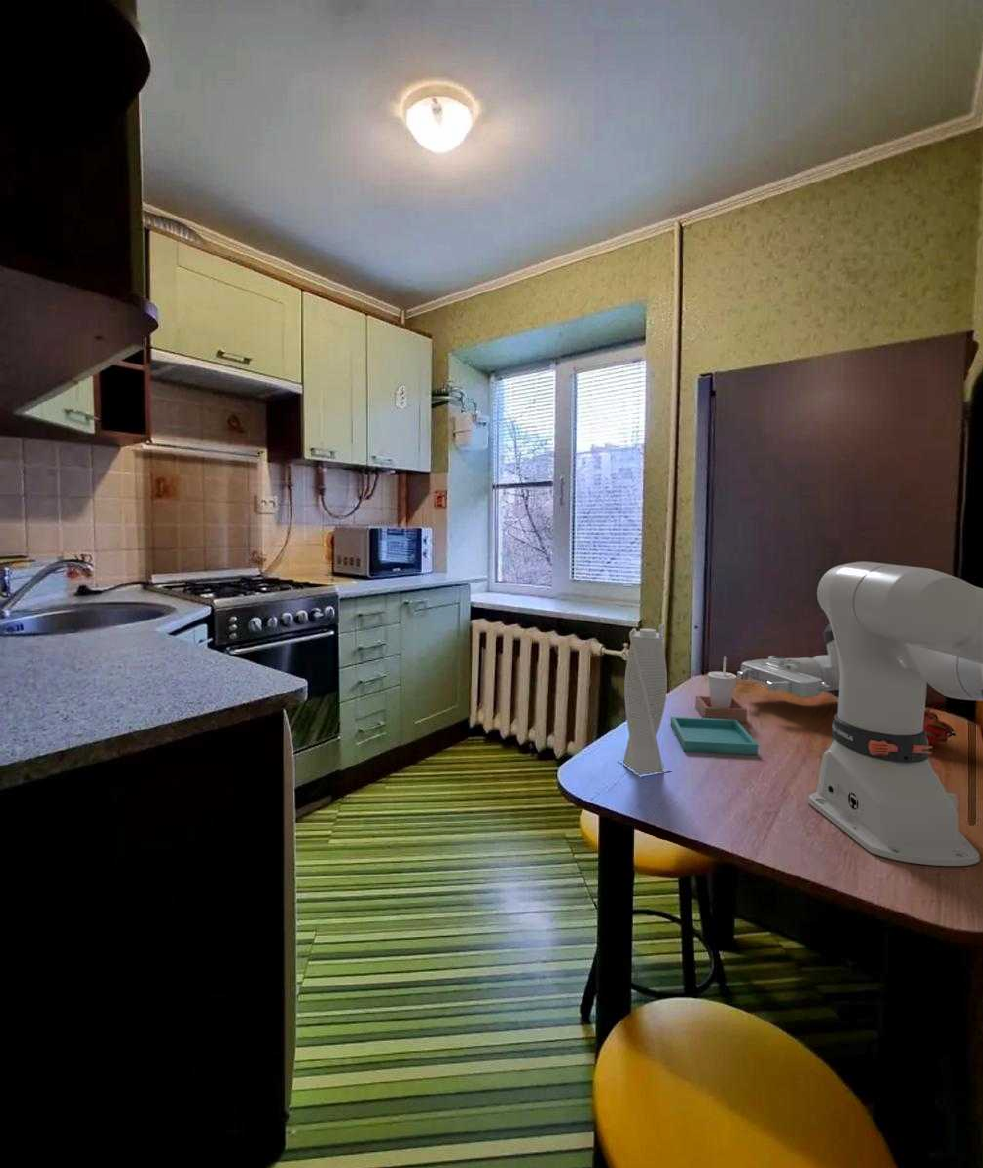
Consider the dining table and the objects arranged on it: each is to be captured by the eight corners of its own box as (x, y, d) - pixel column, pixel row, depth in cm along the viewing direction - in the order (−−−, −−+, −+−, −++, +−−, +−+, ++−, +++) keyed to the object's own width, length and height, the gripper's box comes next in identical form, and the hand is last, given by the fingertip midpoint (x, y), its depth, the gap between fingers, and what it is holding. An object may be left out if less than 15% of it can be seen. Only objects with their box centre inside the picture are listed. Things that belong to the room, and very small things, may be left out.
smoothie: (739, 719, 129) (742, 660, 127) (711, 719, 129) (714, 660, 128) (728, 710, 135) (731, 653, 134) (701, 710, 135) (704, 653, 134)
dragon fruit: (877, 739, 122) (946, 764, 113) (875, 726, 116) (947, 751, 107) (891, 705, 123) (960, 727, 115) (889, 690, 118) (962, 712, 109)
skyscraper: (676, 776, 101) (683, 623, 98) (639, 783, 98) (645, 626, 95) (647, 757, 109) (652, 615, 106) (612, 764, 106) (616, 618, 103)
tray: (757, 755, 109) (758, 744, 109) (683, 751, 111) (684, 741, 111) (735, 728, 123) (736, 719, 123) (670, 725, 125) (670, 716, 125)
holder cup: (746, 722, 127) (747, 709, 127) (704, 720, 128) (705, 707, 128) (734, 709, 136) (734, 697, 136) (695, 707, 137) (695, 695, 137)
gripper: (834, 701, 129) (787, 707, 125) (766, 677, 149) (723, 682, 144) (836, 674, 129) (789, 679, 124) (767, 654, 148) (724, 658, 144)
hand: (753, 680), depth 135 cm, fingers open, 8 cm apart
